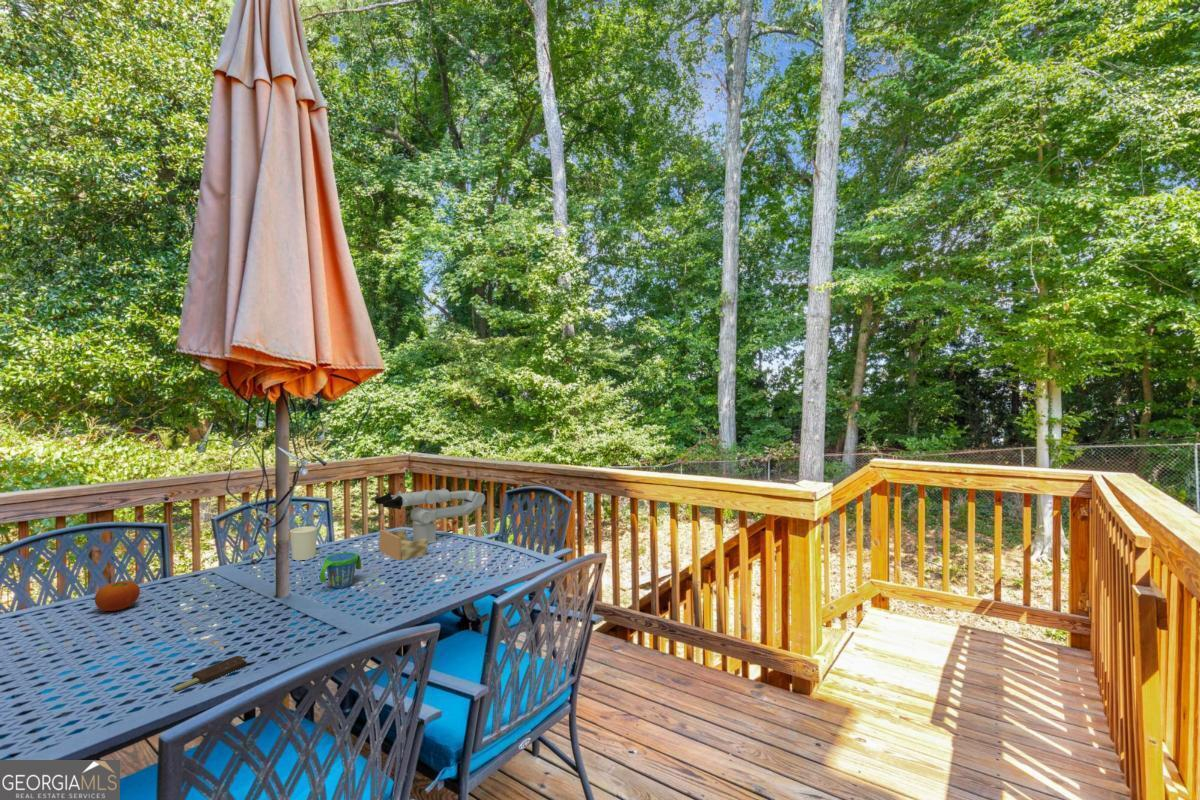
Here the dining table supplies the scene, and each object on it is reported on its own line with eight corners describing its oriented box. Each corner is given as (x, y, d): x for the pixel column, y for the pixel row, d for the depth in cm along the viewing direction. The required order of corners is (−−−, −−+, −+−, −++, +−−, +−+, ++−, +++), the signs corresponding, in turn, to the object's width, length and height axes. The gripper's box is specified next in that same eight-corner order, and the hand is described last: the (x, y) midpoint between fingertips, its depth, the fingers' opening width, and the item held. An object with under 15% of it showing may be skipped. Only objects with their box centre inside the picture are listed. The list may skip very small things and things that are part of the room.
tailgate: (382, 550, 226) (382, 529, 226) (400, 559, 214) (401, 537, 214) (379, 550, 225) (379, 530, 225) (398, 560, 213) (398, 538, 213)
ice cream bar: (179, 696, 118) (250, 666, 131) (179, 689, 118) (250, 659, 131) (167, 690, 120) (238, 661, 134) (167, 682, 120) (238, 654, 134)
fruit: (94, 608, 164) (94, 582, 164) (138, 599, 172) (138, 575, 172) (95, 618, 157) (95, 592, 157) (141, 609, 164) (141, 583, 164)
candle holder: (314, 553, 222) (314, 525, 222) (319, 559, 215) (319, 529, 215) (287, 557, 216) (288, 528, 216) (292, 563, 208) (292, 533, 208)
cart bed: (404, 545, 235) (405, 529, 235) (427, 555, 220) (427, 539, 220) (381, 550, 228) (381, 534, 228) (403, 561, 213) (403, 543, 213)
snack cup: (329, 595, 177) (329, 565, 176) (311, 589, 182) (311, 560, 182) (370, 581, 190) (370, 553, 190) (351, 576, 195) (352, 548, 195)
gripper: (402, 487, 240) (372, 490, 230) (417, 493, 230) (387, 496, 220) (401, 502, 240) (371, 506, 230) (417, 509, 230) (386, 513, 220)
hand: (379, 502), depth 225 cm, fingers open, 7 cm apart
